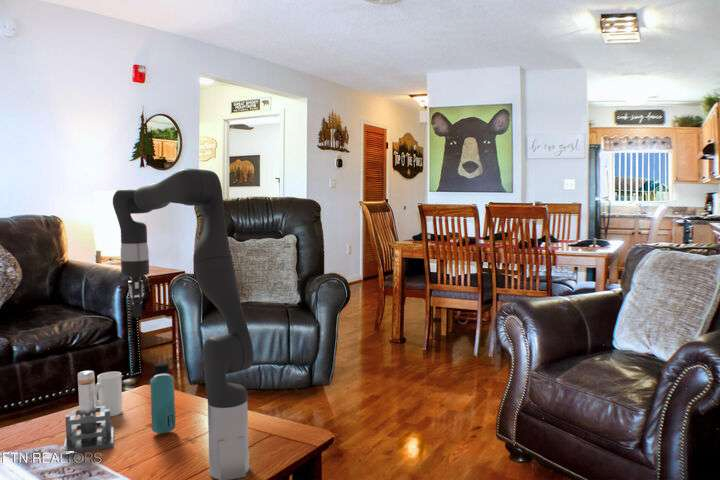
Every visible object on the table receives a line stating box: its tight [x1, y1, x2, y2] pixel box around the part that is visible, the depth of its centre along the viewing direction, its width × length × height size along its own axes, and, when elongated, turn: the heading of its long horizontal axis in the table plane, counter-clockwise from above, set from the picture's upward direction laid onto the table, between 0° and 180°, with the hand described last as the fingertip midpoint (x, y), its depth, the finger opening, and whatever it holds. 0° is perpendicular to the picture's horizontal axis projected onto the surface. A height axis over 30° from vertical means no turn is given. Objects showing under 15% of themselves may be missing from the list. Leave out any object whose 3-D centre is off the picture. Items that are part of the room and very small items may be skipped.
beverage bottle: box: [149, 361, 177, 434], centre depth 162 cm, size 6×7×20 cm
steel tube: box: [77, 370, 98, 441], centre depth 157 cm, size 4×4×18 cm
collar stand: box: [61, 406, 115, 454], centre depth 157 cm, size 12×12×8 cm
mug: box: [95, 371, 123, 417], centre depth 177 cm, size 10×7×12 cm, turn 162°
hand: (137, 314), depth 169 cm, fingers open, 8 cm apart
